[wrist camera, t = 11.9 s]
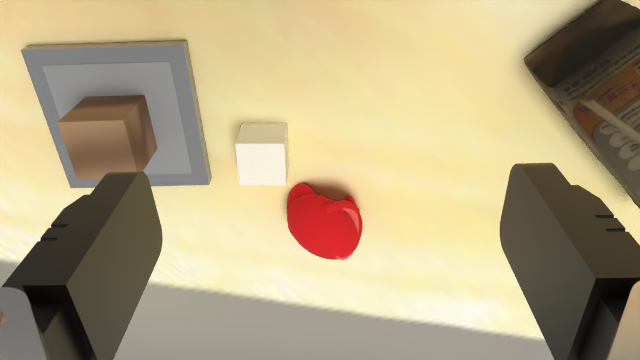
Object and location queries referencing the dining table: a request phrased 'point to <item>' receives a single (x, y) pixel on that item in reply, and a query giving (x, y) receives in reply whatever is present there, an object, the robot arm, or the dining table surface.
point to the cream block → (262, 154)
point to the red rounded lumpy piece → (323, 223)
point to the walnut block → (108, 135)
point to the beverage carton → (598, 85)
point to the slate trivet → (120, 80)
